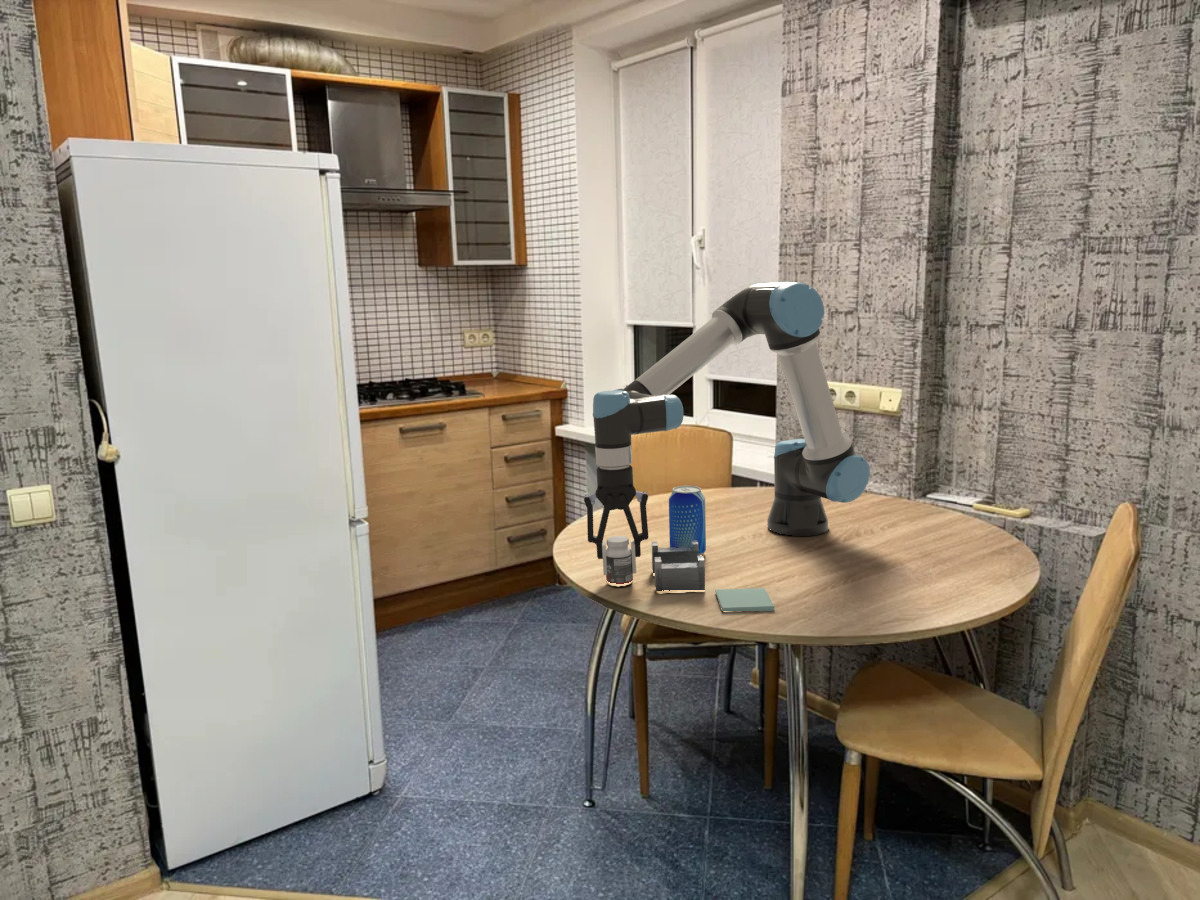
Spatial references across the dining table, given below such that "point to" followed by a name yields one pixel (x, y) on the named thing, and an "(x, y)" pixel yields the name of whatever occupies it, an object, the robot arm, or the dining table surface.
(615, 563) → the pill bottle
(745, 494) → the dining table surface
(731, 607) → the coaster
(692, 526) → the beer can
